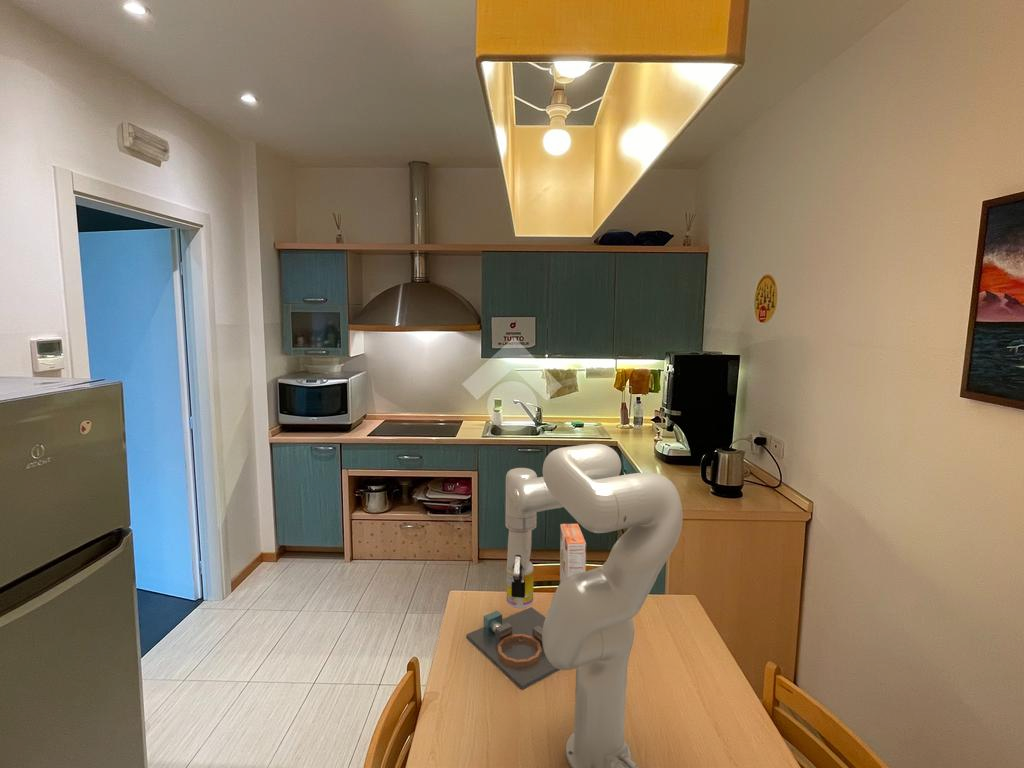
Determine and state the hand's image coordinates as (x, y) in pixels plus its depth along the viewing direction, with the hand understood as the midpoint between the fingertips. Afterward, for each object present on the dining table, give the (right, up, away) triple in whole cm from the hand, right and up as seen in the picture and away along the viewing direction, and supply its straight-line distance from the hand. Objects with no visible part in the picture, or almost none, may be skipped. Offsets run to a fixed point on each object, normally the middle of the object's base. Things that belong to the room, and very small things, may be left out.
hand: (520, 588), depth 130 cm
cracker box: (+16, -15, +29) cm, 36 cm away
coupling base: (+2, -17, +6) cm, 19 cm away
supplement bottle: (0, -4, +1) cm, 4 cm away
